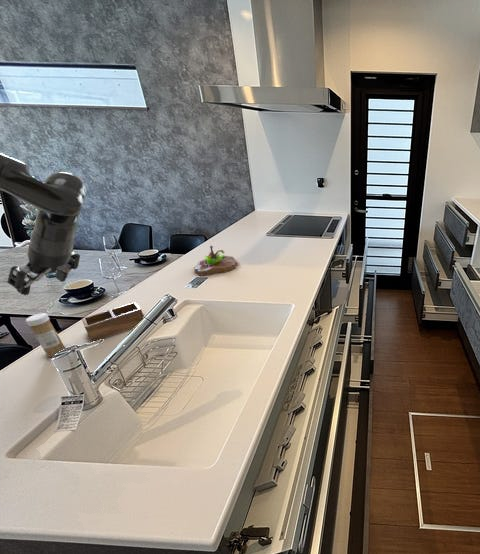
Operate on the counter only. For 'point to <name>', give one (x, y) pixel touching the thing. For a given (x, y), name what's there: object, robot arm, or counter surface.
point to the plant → (215, 263)
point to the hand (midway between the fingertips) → (42, 285)
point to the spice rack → (112, 321)
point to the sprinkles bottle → (45, 334)
